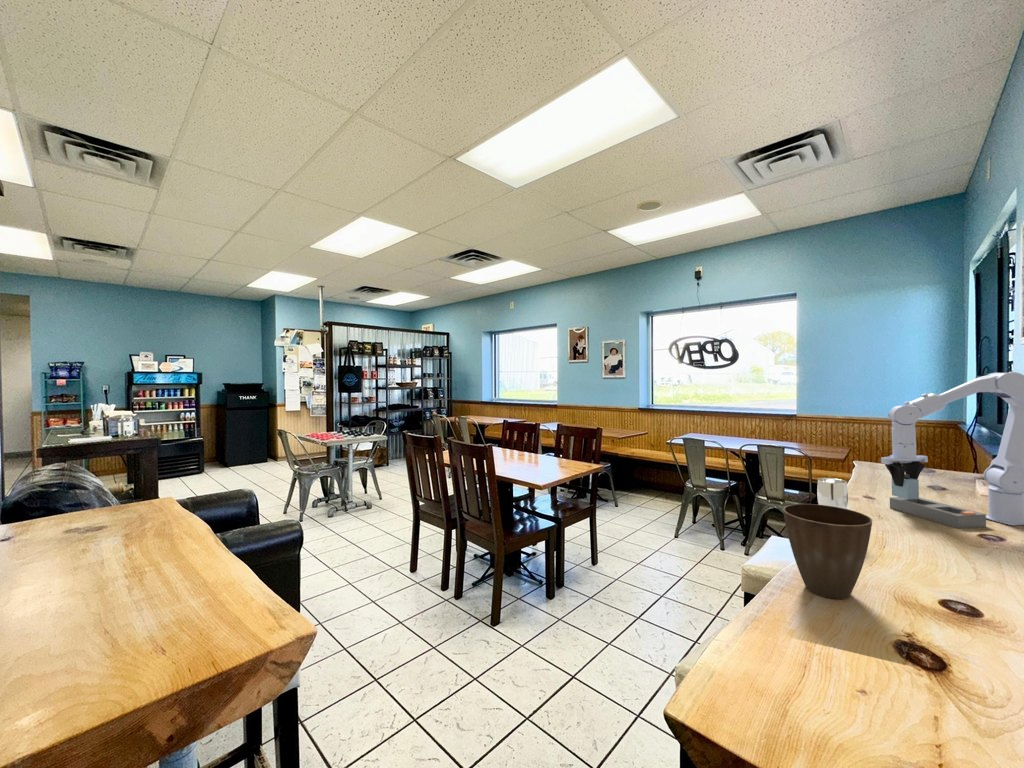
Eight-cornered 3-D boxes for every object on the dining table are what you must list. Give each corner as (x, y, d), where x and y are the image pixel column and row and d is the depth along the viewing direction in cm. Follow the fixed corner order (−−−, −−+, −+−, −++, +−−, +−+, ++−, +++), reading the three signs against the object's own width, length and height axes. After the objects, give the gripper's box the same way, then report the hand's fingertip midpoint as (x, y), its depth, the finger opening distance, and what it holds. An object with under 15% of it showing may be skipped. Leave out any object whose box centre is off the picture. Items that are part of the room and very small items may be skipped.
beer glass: (838, 529, 124) (837, 477, 124) (855, 538, 117) (853, 483, 117) (812, 529, 125) (811, 477, 125) (827, 538, 118) (826, 483, 118)
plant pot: (783, 569, 100) (782, 500, 100) (866, 583, 92) (864, 508, 92) (785, 597, 87) (784, 518, 87) (881, 616, 79) (880, 530, 79)
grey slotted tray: (914, 506, 144) (914, 494, 144) (986, 526, 124) (985, 512, 124) (889, 508, 143) (889, 495, 143) (958, 528, 123) (957, 513, 123)
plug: (902, 494, 141) (902, 472, 141) (918, 498, 136) (918, 475, 136) (891, 495, 140) (891, 473, 141) (907, 499, 136) (907, 476, 136)
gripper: (911, 440, 143) (912, 481, 143) (871, 442, 141) (873, 483, 141) (934, 443, 136) (935, 486, 136) (892, 445, 134) (894, 489, 134)
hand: (905, 485), depth 138 cm, fingers closed on plug, 4 cm apart
